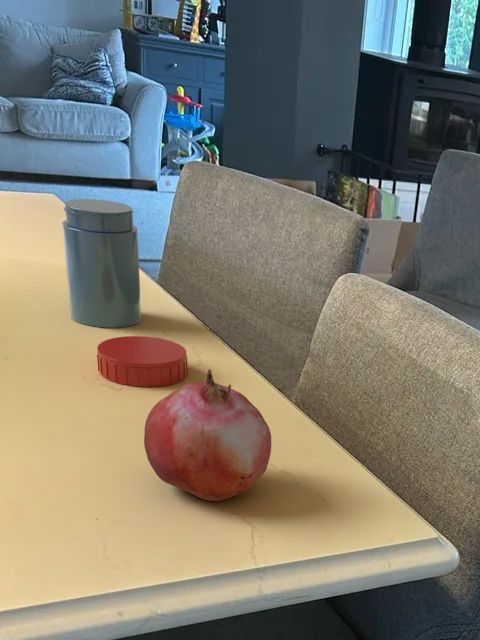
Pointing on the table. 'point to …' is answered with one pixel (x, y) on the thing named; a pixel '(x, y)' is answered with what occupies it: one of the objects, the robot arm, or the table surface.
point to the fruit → (207, 440)
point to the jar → (102, 263)
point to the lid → (142, 361)
